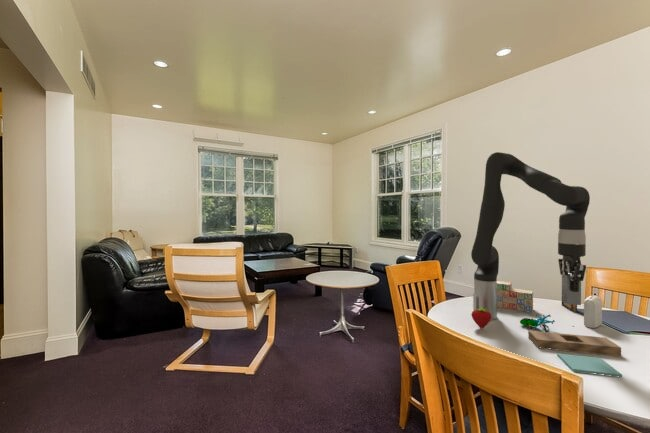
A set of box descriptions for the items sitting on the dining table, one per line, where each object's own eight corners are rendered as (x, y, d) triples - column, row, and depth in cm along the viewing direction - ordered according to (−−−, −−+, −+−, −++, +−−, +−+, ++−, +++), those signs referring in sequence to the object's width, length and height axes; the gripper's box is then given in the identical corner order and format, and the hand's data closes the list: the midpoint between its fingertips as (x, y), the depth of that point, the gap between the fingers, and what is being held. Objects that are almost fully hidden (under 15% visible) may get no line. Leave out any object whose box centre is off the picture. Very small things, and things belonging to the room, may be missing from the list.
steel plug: (567, 304, 102) (567, 276, 102) (561, 300, 106) (561, 273, 106) (580, 305, 101) (581, 276, 101) (574, 301, 105) (575, 274, 105)
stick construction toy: (554, 322, 121) (550, 310, 117) (560, 337, 115) (557, 325, 112) (521, 325, 126) (517, 314, 123) (525, 340, 121) (521, 328, 118)
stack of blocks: (533, 309, 144) (533, 285, 143) (532, 313, 139) (532, 287, 139) (485, 301, 157) (485, 279, 157) (482, 304, 153) (482, 281, 153)
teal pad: (572, 371, 88) (572, 368, 88) (557, 355, 97) (557, 353, 97) (622, 377, 84) (622, 374, 84) (600, 360, 94) (600, 358, 94)
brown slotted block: (537, 347, 103) (537, 339, 103) (528, 338, 111) (528, 330, 111) (621, 356, 96) (621, 347, 96) (605, 345, 104) (605, 337, 104)
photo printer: (590, 320, 128) (590, 293, 128) (603, 323, 124) (603, 295, 124) (582, 326, 122) (582, 297, 122) (595, 329, 118) (595, 299, 118)
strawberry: (469, 324, 125) (469, 301, 125) (489, 326, 123) (489, 303, 123) (473, 330, 119) (473, 306, 119) (493, 331, 117) (493, 307, 117)
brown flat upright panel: (561, 305, 149) (561, 282, 149) (565, 305, 149) (565, 282, 149) (572, 312, 139) (572, 287, 139) (577, 312, 138) (577, 287, 138)
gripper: (550, 240, 111) (549, 284, 111) (569, 244, 97) (568, 294, 98) (573, 240, 109) (573, 285, 109) (596, 244, 95) (596, 296, 96)
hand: (571, 289), depth 103 cm, fingers closed on steel plug, 4 cm apart
